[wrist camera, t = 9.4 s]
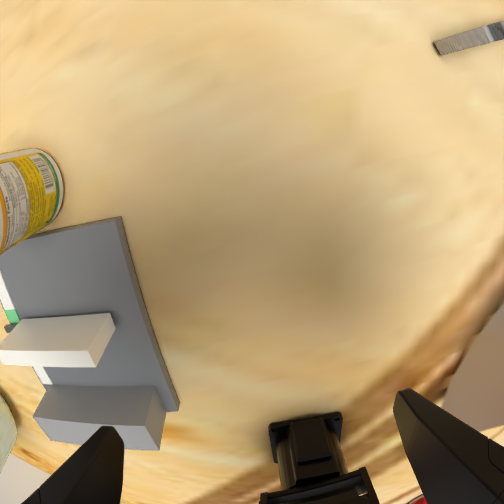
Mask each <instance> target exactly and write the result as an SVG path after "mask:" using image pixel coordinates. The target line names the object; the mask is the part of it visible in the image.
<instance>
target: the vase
mask: <svg viewBox="0 0 504 504" xmlns="http://www.w3.org/2000/svg"><path fill="white" fill-rule="evenodd" d="M16 438H17V429H16V424H15V421H14V418H13V416H12V413H11V412H10V409H9V407H8V405H7V403H6V402H5V400H4V399H3V397H2V396H1V395H0V472H1V471H2V468H3V466H4V464H5V462H6V460H7V458H8V456H9V454H10V452H11V450H12V448H13V446H14V444H15V441H16Z"/></svg>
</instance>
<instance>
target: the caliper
mask: <svg viewBox="0 0 504 504" xmlns="http://www.w3.org/2000/svg"><path fill="white" fill-rule="evenodd" d="M502 39H504V21H502V22H498V23H494V24H490V25H487V26H483V27H479V28H476V29H472V30H469V31H466V32H463V33H459V34H456V35H453V36H450V37H447V38H444V39H441V40H438V41H435V42H434V43H435V45H436V47H437V49H438V50H439V52H440V54H441V55H444V54H448V53H451V52H455V51H459V50H463V49H467V48H471V47H475V46H478V45H482V44H487V43H491V42H494V41H497V40H502Z"/></svg>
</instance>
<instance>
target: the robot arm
mask: <svg viewBox="0 0 504 504" xmlns="http://www.w3.org/2000/svg"><path fill="white" fill-rule="evenodd" d="M393 412H394V416H395V419H396V423H397V426H398V429H399V432H400V436H401V439H402V443H403V446H404V449H405V452H406V455H407V457H408V459H409V462H410V464H411V466H412V469H413V471H414V473H415V476H416V478H417V481H418V483H419V485H420V488H421V490H422V493H423V495H424V497H425V500H426V502H427V504H504V447H503V446H501V445H500V444H498V443H496V442H495V441H493V440H491V439H488V437H486V436H485V435H483V434H481V433H480V432H478V431H477V430H475V429H473V428H472V427H470V426H469V425H467V424H465V423H464V422H462V421H461V420H459V419H457V418H456V417H454V416H453V415H451V414H450V413H448V412H447V411H445V410H443V409H442V408H440V407H439V406H437V405H436V404H434V403H432V402H431V401H429V400H428V399H426V398H425V397H423V396H422V395H420V394H419V393H417V392H415V391H414V390H412V389H411V388H405V389H402V390H399V391H398V392H397V393H396V397H395V402H394V406H393ZM342 420H343V418H342V414H341V413H333V414H328V415H323V416H318V417H313V418H307V419H302V420H296V421H289V422H283V423H276V424H271V425H270V426H269V427H268V429H269V436H270V441H271V447H272V453H273V459H274V462H275V463H278V467H279V474H280V482H281V489H282V490H281V491H276V492H271V493H268V492H265V493H261V496H260V501H259V504H380V503H379V500H378V498H377V495H376V493H375V490H374V488H373V485H372V482H371V480H370V477H369V475H368V472H367V470H366V467H362V468H359V470H356V471H353V472H350V473H348V470H347V467H346V463H345V460H344V457H343V453H342V450H341V447H340V438H341V429H342ZM123 465H124V441H123V439H122V438H121V436H120V435H119V433H118V432H117V430H116V429H115V427H113V426H101V427H100V428H99V429H98V430H97V431H96V432H95V433H94V434H93V435H92V436H91V437H90V438H89V439H88V440H87V441H86V442H85V443H84V444H83V445H82V446H81V447H80V448H79V449H78V450H77V451H76V452H75V453H74V454H73V455H72V456H71V457H70V458H69V459H68V460H67V461H65V462H64V463H63V464H62V465H61V466H60V467H59V468H58V469H57V470H56V471H55V472H54V473H53V474H52V475H51V476H50V477H49V478H48V479H47V480H46V481H45V482H44V483H43V484H42V485H41V486H40V488H38V489H37V490H36V491H35V492H34V493H33V494H32V495H30V497H28V498H27V499H26V500H25V501H24V502H23V503H21V504H120V499H121V492H122V484H123ZM360 494H363V495H361V496H359V495H360Z"/></svg>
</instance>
